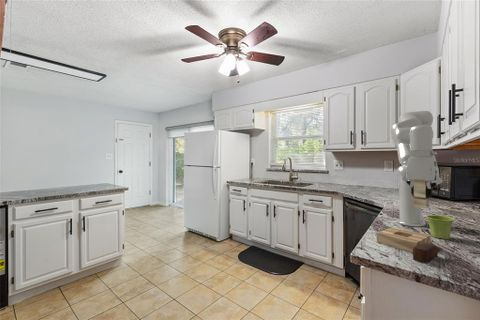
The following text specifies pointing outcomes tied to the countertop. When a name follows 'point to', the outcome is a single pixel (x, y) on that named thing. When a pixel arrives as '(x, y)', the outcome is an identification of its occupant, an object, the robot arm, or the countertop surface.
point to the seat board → (402, 238)
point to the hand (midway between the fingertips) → (421, 196)
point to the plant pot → (440, 226)
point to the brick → (425, 252)
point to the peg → (420, 194)
